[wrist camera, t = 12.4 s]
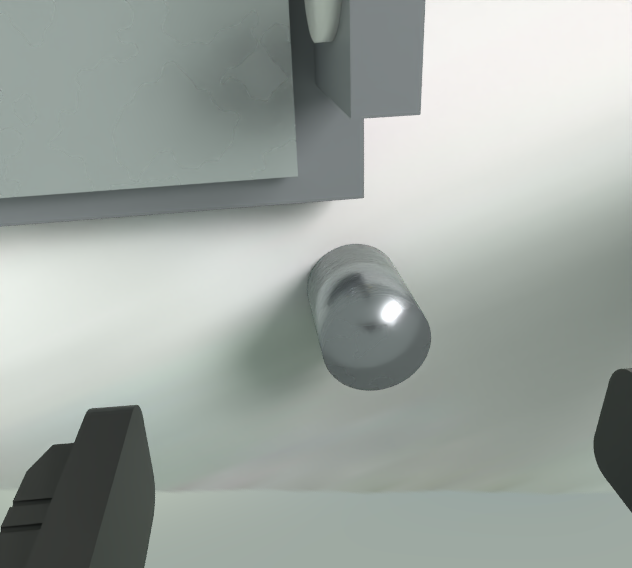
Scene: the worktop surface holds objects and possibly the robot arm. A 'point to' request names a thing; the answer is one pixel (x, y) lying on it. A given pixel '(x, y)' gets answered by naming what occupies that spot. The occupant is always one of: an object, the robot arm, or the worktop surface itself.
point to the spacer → (366, 318)
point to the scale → (195, 102)
